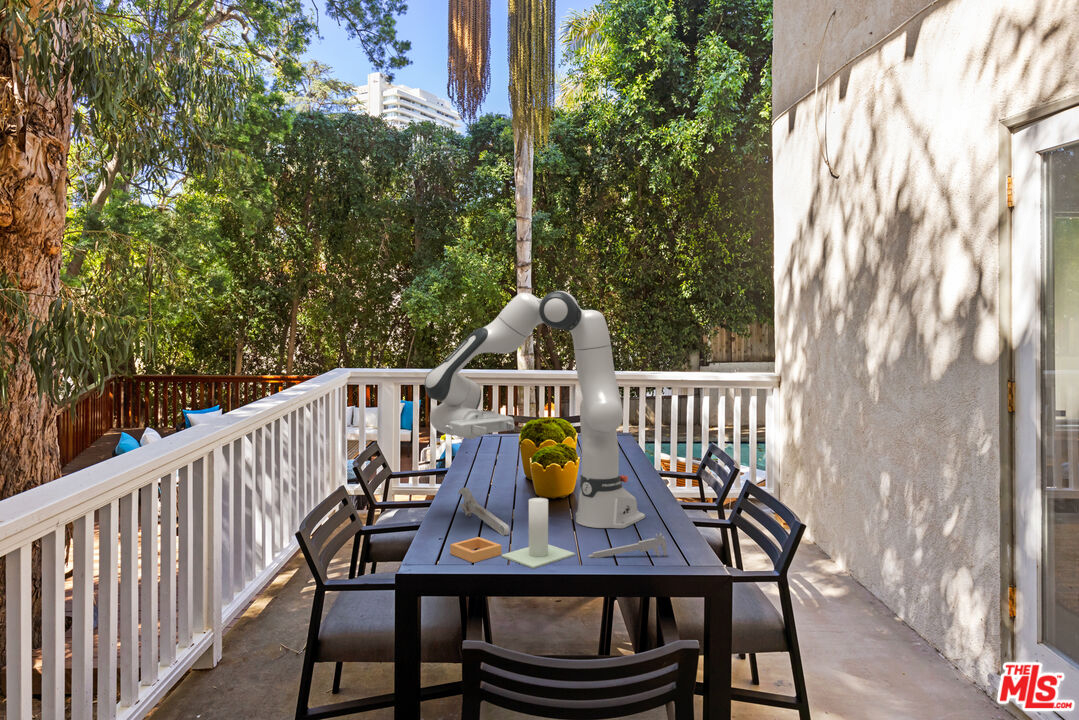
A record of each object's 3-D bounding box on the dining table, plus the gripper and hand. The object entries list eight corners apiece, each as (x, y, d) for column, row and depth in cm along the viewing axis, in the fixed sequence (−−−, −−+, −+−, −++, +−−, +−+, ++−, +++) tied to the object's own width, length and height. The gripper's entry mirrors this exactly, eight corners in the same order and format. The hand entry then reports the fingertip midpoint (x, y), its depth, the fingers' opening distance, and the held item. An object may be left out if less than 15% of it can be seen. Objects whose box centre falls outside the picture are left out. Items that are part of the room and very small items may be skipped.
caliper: (665, 556, 188) (665, 532, 188) (666, 557, 187) (667, 533, 187) (587, 557, 187) (588, 533, 186) (588, 559, 186) (588, 535, 185)
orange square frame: (478, 546, 195) (478, 536, 194) (501, 554, 188) (501, 545, 188) (450, 553, 188) (450, 544, 188) (472, 562, 181) (472, 553, 181)
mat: (543, 544, 196) (543, 542, 196) (575, 555, 188) (575, 553, 188) (501, 556, 186) (501, 554, 186) (533, 568, 177) (533, 566, 177)
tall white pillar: (538, 549, 190) (538, 496, 190) (552, 553, 187) (552, 500, 186) (524, 553, 187) (524, 500, 186) (538, 558, 183) (538, 503, 183)
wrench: (503, 546, 204) (457, 509, 229) (509, 545, 205) (462, 509, 230) (505, 519, 203) (458, 485, 228) (510, 518, 204) (463, 484, 229)
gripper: (440, 416, 206) (471, 421, 196) (495, 410, 220) (526, 414, 210) (440, 438, 207) (470, 444, 197) (495, 430, 221) (526, 436, 211)
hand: (500, 429), depth 204 cm, fingers open, 8 cm apart
